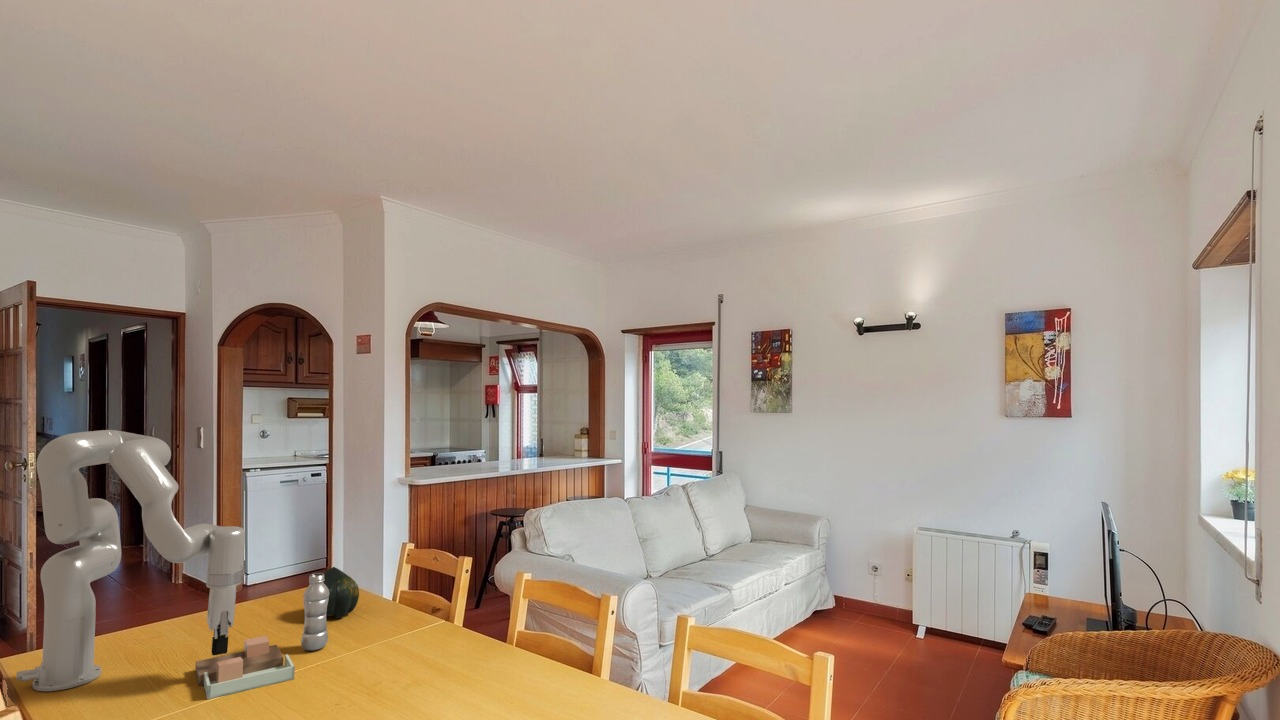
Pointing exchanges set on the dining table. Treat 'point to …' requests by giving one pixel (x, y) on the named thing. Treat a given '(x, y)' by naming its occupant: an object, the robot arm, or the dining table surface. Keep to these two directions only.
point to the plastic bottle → (315, 613)
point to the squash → (340, 593)
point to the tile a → (229, 669)
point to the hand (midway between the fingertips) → (219, 653)
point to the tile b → (256, 646)
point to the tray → (250, 680)
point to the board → (249, 664)
